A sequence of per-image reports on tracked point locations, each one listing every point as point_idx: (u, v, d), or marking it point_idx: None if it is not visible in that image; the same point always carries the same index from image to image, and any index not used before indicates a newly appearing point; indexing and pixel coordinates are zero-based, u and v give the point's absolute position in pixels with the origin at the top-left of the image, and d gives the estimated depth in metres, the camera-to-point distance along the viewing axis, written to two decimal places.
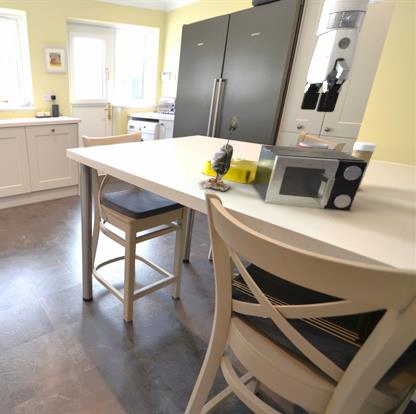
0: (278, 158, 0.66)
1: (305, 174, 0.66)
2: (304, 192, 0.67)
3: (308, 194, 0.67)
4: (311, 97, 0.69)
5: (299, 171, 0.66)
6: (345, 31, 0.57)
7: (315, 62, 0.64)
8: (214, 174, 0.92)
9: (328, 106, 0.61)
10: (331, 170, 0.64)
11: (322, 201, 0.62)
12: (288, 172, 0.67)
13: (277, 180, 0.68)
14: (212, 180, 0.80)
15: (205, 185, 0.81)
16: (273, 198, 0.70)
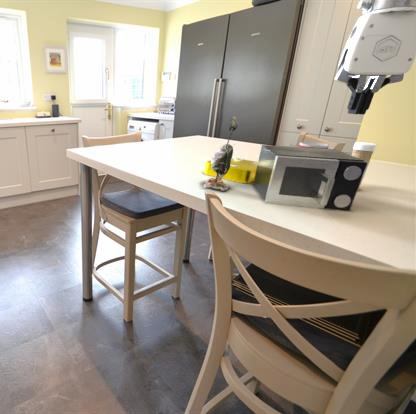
0: (278, 158, 0.66)
1: (305, 174, 0.66)
2: (304, 192, 0.67)
3: (308, 194, 0.67)
4: None
5: (299, 171, 0.66)
6: (358, 19, 0.53)
7: None
8: (214, 174, 0.92)
9: (349, 107, 0.57)
10: (331, 170, 0.64)
11: (322, 201, 0.62)
12: (288, 172, 0.67)
13: (277, 180, 0.68)
14: (212, 180, 0.80)
15: (205, 185, 0.81)
16: (273, 198, 0.70)
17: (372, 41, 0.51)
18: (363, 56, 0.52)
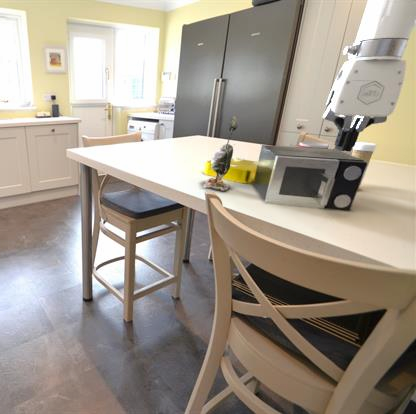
0: (278, 158, 0.66)
1: (305, 174, 0.66)
2: (304, 192, 0.67)
3: (308, 194, 0.67)
4: None
5: (299, 171, 0.66)
6: (345, 63, 0.55)
7: None
8: (214, 174, 0.92)
9: (336, 144, 0.60)
10: (331, 170, 0.64)
11: (322, 201, 0.62)
12: (288, 172, 0.67)
13: (277, 180, 0.68)
14: (212, 180, 0.80)
15: (205, 185, 0.81)
16: (273, 198, 0.70)
17: (357, 85, 0.54)
18: (348, 99, 0.55)
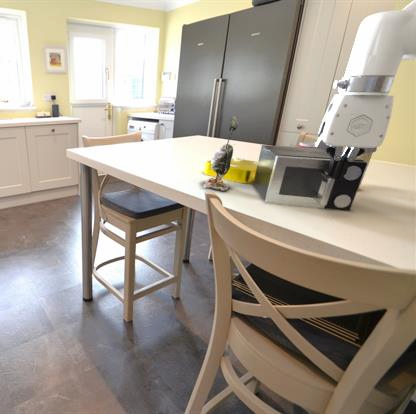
0: (278, 158, 0.66)
1: (305, 174, 0.66)
2: (304, 192, 0.67)
3: (308, 194, 0.67)
4: None
5: (299, 171, 0.66)
6: (335, 96, 0.57)
7: None
8: (214, 174, 0.92)
9: (328, 171, 0.62)
10: None
11: (322, 201, 0.62)
12: (288, 172, 0.67)
13: (277, 180, 0.68)
14: (212, 180, 0.80)
15: (205, 185, 0.81)
16: (273, 198, 0.70)
17: (346, 119, 0.56)
18: (338, 131, 0.57)
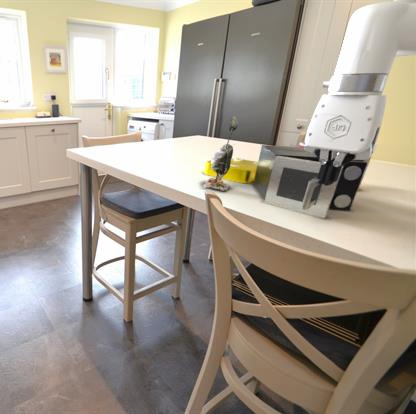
0: (276, 158, 0.67)
1: (302, 177, 0.63)
2: (301, 197, 0.64)
3: None
4: None
5: (296, 174, 0.64)
6: None
7: None
8: (214, 174, 0.92)
9: None
10: None
11: (302, 205, 0.60)
12: (285, 173, 0.66)
13: (275, 180, 0.68)
14: (212, 180, 0.80)
15: (205, 185, 0.81)
16: (271, 199, 0.69)
17: (324, 119, 0.54)
18: (316, 132, 0.55)
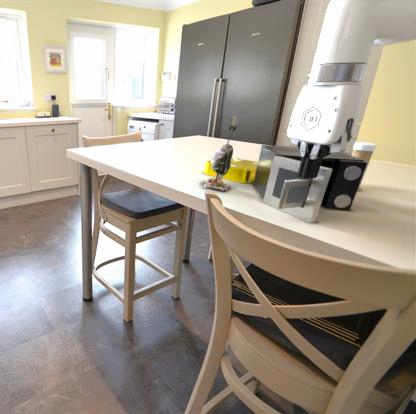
0: (274, 158, 0.67)
1: (294, 178, 0.62)
2: (292, 198, 0.63)
3: None
4: None
5: (289, 174, 0.63)
6: None
7: None
8: (214, 174, 0.92)
9: None
10: (318, 178, 0.58)
11: (278, 203, 0.60)
12: (280, 173, 0.65)
13: (272, 180, 0.68)
14: (212, 180, 0.80)
15: (205, 185, 0.81)
16: (268, 198, 0.69)
17: (301, 111, 0.54)
18: (295, 123, 0.55)
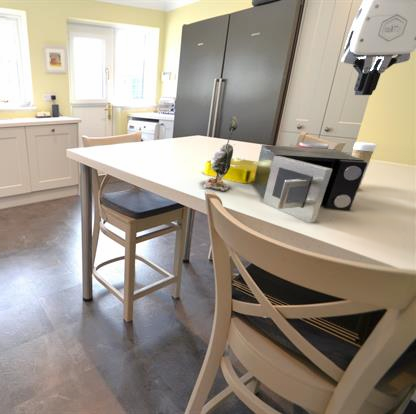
0: (274, 158, 0.67)
1: (294, 178, 0.62)
2: (292, 198, 0.63)
3: None
4: None
5: (289, 174, 0.63)
6: (364, 0, 0.53)
7: None
8: (214, 174, 0.92)
9: (356, 88, 0.58)
10: (318, 178, 0.58)
11: (278, 203, 0.60)
12: (280, 173, 0.65)
13: (272, 180, 0.68)
14: (212, 180, 0.80)
15: (205, 185, 0.81)
16: (268, 198, 0.69)
17: (378, 21, 0.52)
18: (369, 36, 0.53)
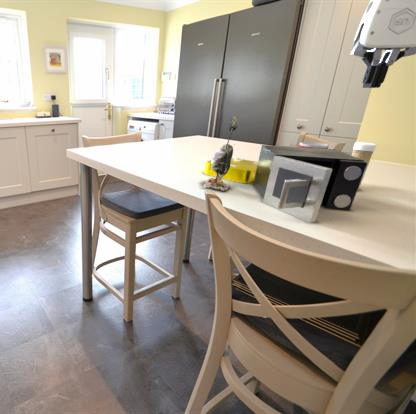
0: (274, 158, 0.67)
1: (294, 178, 0.62)
2: (292, 198, 0.63)
3: None
4: None
5: (289, 174, 0.63)
6: None
7: None
8: (214, 174, 0.92)
9: (364, 81, 0.59)
10: (318, 178, 0.58)
11: (278, 203, 0.60)
12: (280, 173, 0.65)
13: (272, 180, 0.68)
14: (212, 180, 0.80)
15: (205, 185, 0.81)
16: (268, 198, 0.69)
17: (388, 14, 0.53)
18: (379, 29, 0.54)
